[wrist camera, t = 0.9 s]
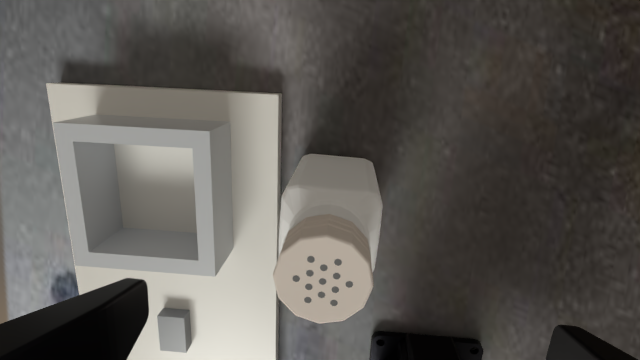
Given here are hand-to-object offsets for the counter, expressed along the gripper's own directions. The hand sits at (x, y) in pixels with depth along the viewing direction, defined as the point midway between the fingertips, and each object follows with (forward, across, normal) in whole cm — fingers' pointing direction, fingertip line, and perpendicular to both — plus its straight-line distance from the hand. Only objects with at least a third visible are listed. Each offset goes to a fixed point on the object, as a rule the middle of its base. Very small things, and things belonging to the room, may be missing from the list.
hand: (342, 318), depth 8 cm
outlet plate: (+13, +10, +5) cm, 17 cm away
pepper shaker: (+13, +1, +1) cm, 13 cm away
